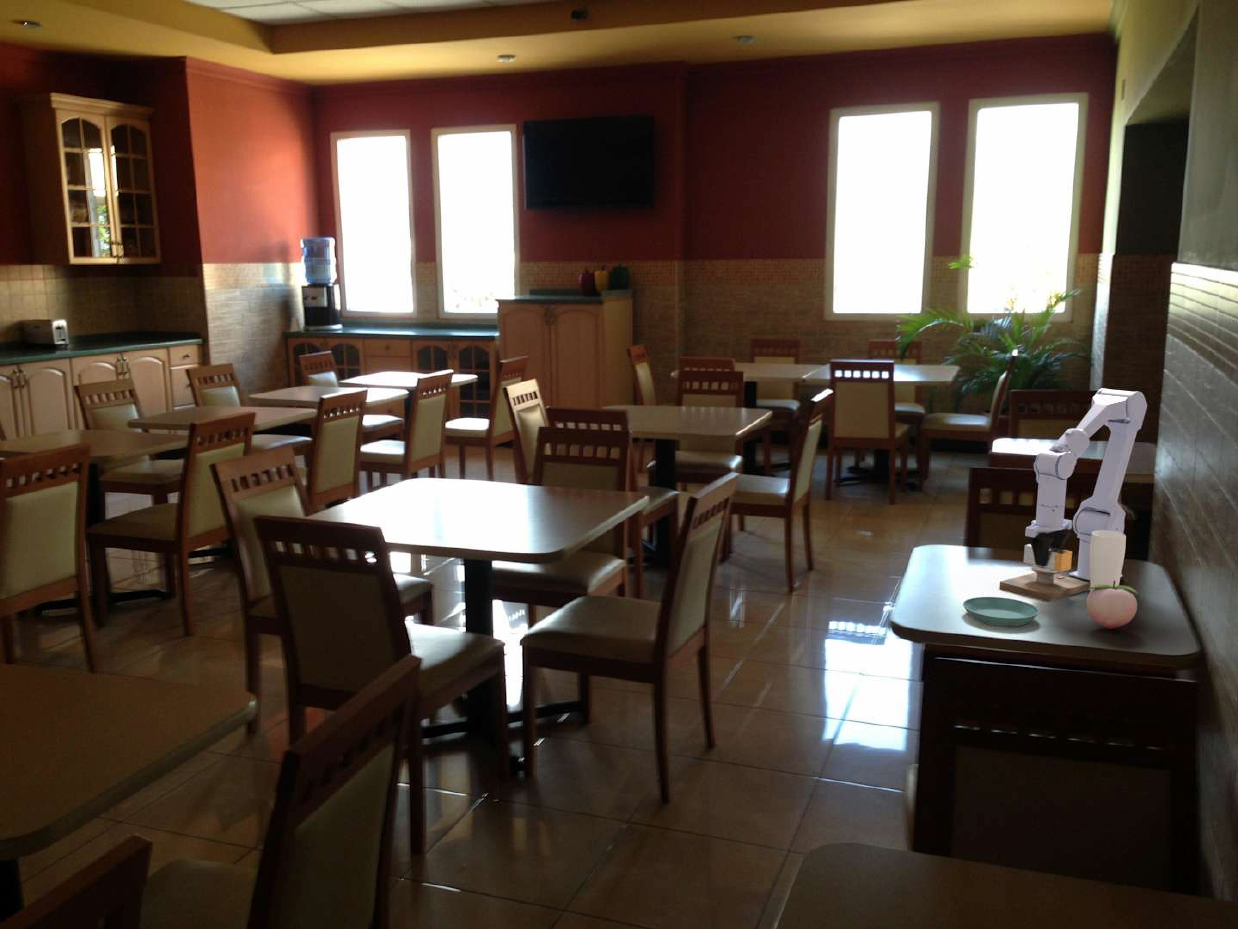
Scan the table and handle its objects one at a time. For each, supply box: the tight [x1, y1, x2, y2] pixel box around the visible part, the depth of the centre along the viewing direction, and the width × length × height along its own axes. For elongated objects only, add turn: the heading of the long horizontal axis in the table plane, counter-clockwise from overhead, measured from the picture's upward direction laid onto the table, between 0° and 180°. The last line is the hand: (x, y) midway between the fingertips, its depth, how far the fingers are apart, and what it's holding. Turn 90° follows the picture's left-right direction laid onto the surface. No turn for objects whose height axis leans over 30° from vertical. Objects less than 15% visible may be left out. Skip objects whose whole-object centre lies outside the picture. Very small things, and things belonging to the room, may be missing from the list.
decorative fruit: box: [1086, 581, 1140, 630], centre depth 205 cm, size 9×8×10 cm
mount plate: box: [998, 572, 1090, 602], centre depth 232 cm, size 16×12×4 cm
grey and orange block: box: [1023, 543, 1073, 575], centre depth 231 cm, size 6×9×5 cm, turn 34°
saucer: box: [962, 596, 1040, 627], centre depth 212 cm, size 15×15×3 cm
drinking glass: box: [1089, 530, 1127, 593], centre depth 223 cm, size 7×7×15 cm
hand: (1046, 563), depth 232 cm, fingers open, 4 cm apart
